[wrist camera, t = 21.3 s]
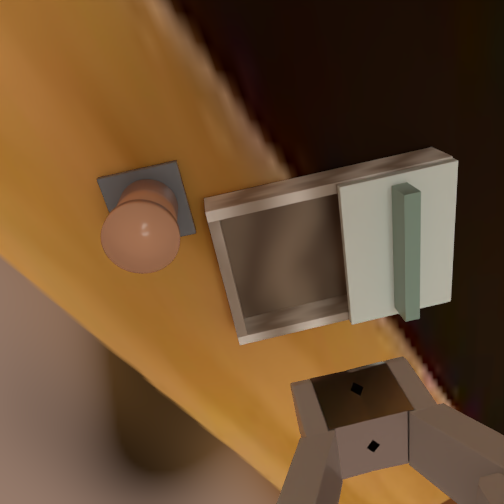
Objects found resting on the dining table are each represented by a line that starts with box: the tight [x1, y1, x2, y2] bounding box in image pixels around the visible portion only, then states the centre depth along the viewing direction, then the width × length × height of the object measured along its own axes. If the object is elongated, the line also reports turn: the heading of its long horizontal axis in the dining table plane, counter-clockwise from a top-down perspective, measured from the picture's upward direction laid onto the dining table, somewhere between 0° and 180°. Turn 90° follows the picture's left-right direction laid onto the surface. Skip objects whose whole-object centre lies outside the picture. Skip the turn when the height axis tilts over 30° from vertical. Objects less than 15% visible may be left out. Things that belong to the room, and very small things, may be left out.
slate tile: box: [97, 160, 196, 237], centre depth 38 cm, size 7×7×1 cm
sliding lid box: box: [204, 147, 453, 345], centre depth 41 cm, size 22×15×4 cm
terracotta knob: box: [101, 179, 180, 273], centre depth 34 cm, size 6×6×7 cm
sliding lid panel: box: [337, 159, 458, 325], centre depth 38 cm, size 10×15×3 cm
